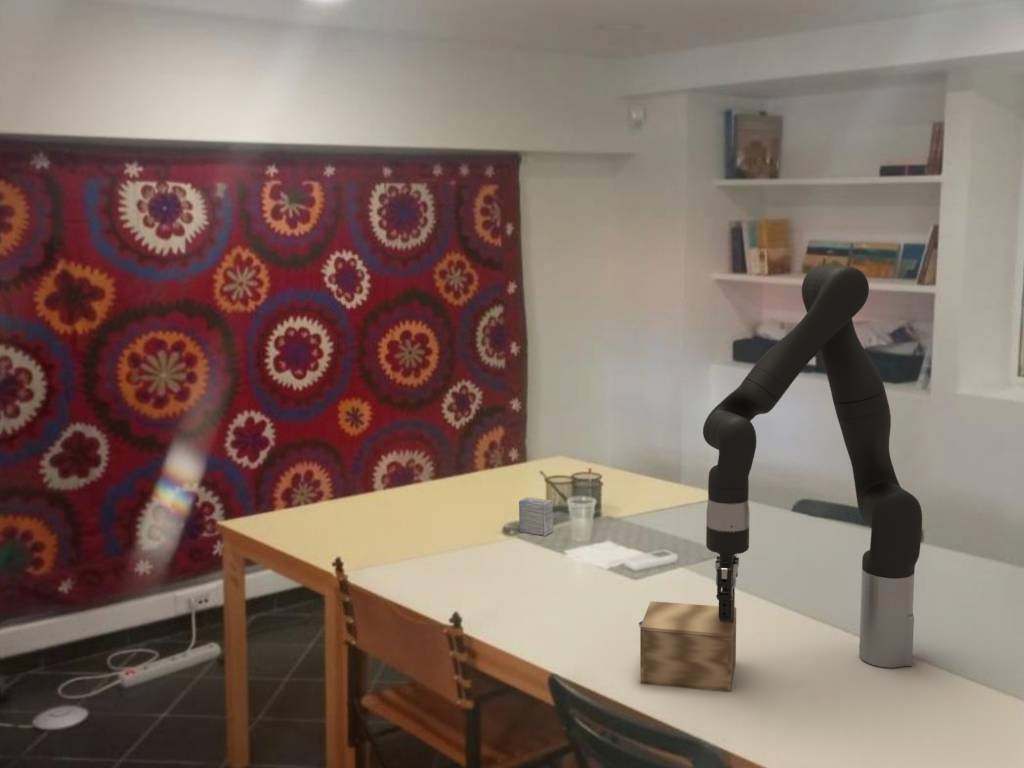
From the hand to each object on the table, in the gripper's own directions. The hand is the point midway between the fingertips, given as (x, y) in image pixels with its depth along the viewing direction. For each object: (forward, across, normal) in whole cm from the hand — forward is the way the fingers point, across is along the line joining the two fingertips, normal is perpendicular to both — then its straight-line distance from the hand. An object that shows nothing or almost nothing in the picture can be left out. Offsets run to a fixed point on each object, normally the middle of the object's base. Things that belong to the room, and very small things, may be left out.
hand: (726, 611), depth 199 cm
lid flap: (+2, 0, +7) cm, 7 cm away
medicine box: (+13, +78, +55) cm, 96 cm away
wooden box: (+12, 0, +7) cm, 14 cm away
